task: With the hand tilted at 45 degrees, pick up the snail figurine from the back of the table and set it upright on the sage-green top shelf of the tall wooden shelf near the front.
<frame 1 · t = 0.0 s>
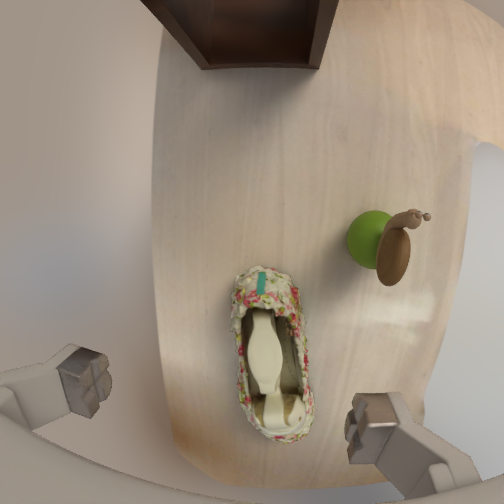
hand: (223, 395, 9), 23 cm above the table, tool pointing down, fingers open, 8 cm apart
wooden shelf: (260, 20, 26), on the table
ballet flat: (272, 361, 35), on the table
snail figurine: (368, 229, 30), on the table
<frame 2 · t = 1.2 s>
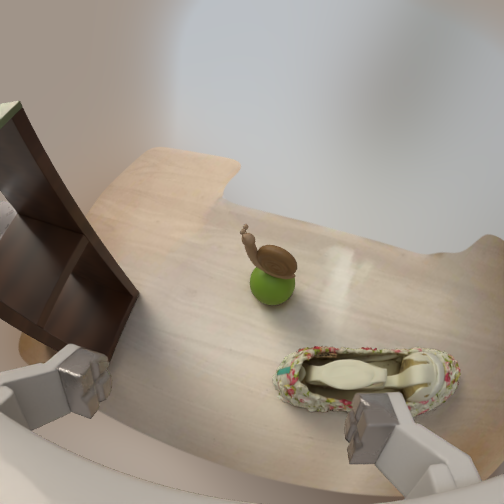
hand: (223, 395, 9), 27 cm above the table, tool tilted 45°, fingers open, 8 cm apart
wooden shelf: (88, 317, 38), on the table
ballet flat: (372, 387, 33), on the table
snail figurine: (268, 290, 40), on the table
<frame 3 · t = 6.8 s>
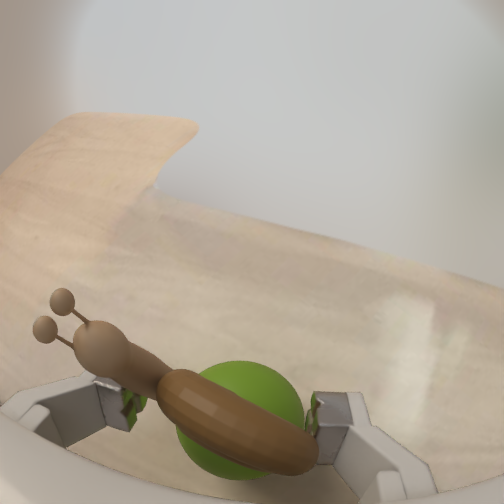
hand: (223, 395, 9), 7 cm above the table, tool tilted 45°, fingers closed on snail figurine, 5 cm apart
snail figurine: (234, 417, 14), on the table, touching gripper
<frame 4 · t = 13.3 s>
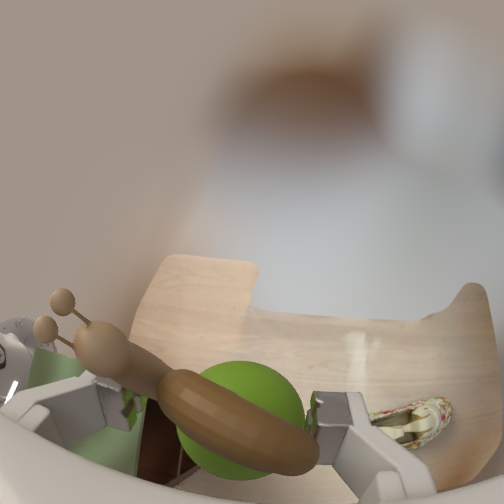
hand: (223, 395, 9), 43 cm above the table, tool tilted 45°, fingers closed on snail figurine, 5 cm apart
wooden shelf: (168, 430, 44), on the table
ballet flat: (392, 431, 43), on the table
snail figurine: (234, 417, 14), point 36 cm above the table, touching gripper
when the fingers open (37 cm above the table, at t = 20.0 s): snail figurine stays where it is, resting on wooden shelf.
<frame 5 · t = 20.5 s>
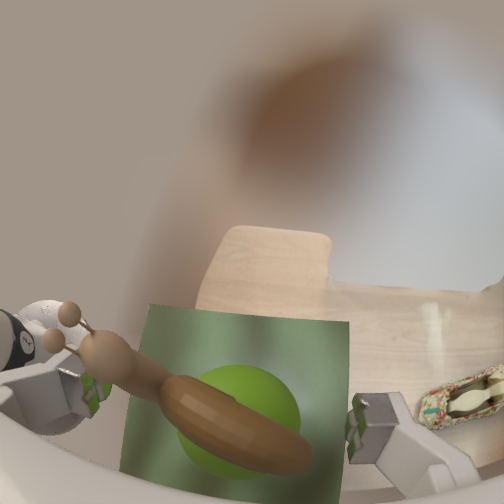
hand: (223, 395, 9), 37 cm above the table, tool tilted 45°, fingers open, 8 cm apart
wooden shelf: (248, 420, 40), on the table
ballet flat: (468, 400, 39), on the table
snail figurine: (232, 419, 15), point 30 cm above the table, touching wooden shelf
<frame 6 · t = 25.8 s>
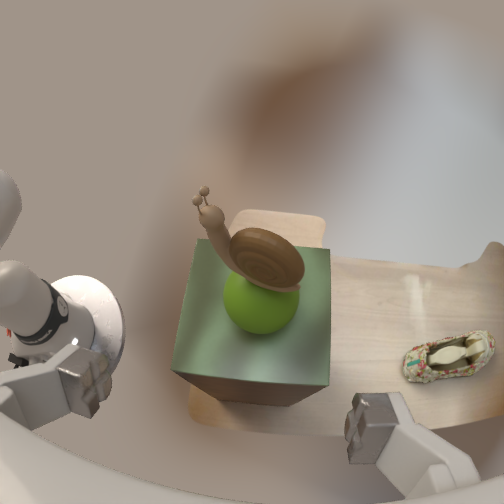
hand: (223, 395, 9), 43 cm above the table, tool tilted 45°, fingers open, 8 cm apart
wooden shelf: (256, 369, 50), on the table
ballet flat: (449, 360, 49), on the table
snail figurine: (255, 308, 25), point 30 cm above the table, touching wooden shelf
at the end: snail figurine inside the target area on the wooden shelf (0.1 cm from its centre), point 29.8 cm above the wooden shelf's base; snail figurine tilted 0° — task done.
